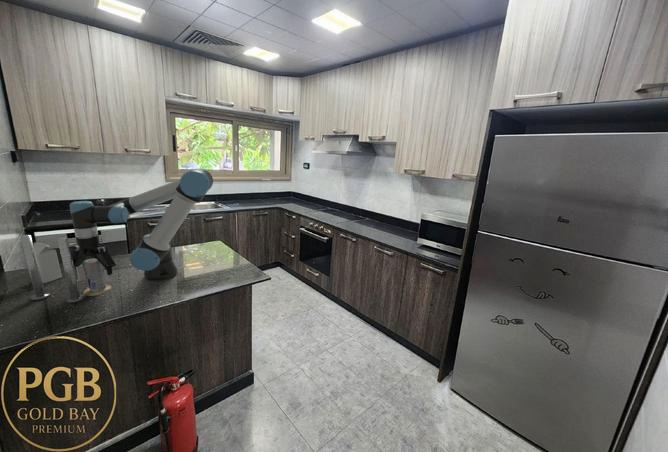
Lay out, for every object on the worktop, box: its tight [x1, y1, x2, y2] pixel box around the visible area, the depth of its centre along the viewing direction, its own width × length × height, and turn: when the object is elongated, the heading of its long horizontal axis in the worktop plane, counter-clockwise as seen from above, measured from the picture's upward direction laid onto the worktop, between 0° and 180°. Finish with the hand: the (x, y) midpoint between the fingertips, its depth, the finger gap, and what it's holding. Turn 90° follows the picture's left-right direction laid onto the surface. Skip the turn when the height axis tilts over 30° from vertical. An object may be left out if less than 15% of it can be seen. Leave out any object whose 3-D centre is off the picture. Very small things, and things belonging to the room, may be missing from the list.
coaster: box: [82, 284, 112, 297], centre depth 126 cm, size 10×10×1 cm
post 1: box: [19, 234, 52, 302], centre depth 115 cm, size 6×6×28 cm
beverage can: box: [83, 257, 107, 292], centre depth 124 cm, size 6×6×15 cm
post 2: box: [57, 236, 86, 305], centre depth 114 cm, size 6×6×28 cm
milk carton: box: [33, 242, 63, 284], centre depth 132 cm, size 7×7×19 cm
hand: (95, 280), depth 125 cm, fingers open, 12 cm apart
